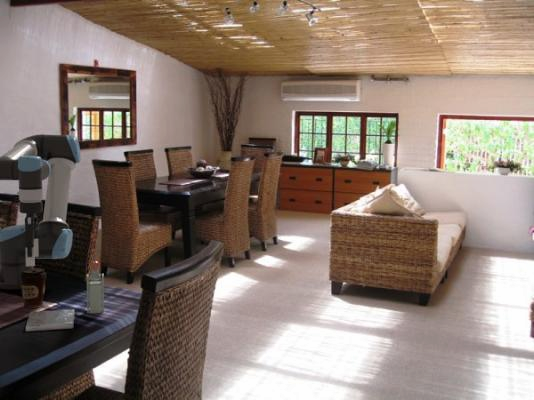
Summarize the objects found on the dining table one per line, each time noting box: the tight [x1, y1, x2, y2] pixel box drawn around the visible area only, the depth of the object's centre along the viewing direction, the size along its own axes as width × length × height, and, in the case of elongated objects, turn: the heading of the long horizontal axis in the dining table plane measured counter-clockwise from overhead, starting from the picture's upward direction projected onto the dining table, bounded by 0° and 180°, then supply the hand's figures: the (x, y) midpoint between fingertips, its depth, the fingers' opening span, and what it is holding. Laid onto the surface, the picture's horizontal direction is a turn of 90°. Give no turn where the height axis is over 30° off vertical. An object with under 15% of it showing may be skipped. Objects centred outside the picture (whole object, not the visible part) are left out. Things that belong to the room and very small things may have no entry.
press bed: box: [25, 308, 75, 332], centre depth 191 cm, size 14×14×2 cm
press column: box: [86, 273, 105, 314], centre depth 201 cm, size 4×6×13 cm
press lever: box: [89, 260, 102, 282], centre depth 195 cm, size 15×4×3 cm
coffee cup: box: [20, 267, 47, 309], centre depth 205 cm, size 9×8×13 cm
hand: (32, 261), depth 203 cm, fingers open, 13 cm apart
